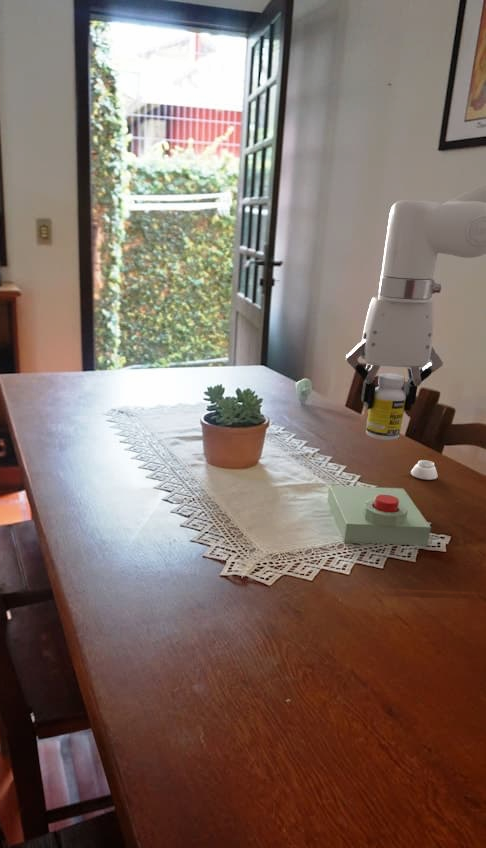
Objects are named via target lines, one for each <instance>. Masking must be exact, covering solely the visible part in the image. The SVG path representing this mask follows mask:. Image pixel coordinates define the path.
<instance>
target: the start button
mask: <svg viewBox="0 0 486 848" xmlns="http://www.w3.org/2000/svg"><path fill="white" fill-rule="evenodd" d="M398 504H399V499H398V498H396V497H394V496H390V495H378V496H376V497H375V503H374V508H375V509H376V510H378V511H382V512H390V513H393V512H397V510H398Z"/></svg>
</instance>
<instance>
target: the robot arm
mask: <svg viewBox="0 0 486 848" xmlns="http://www.w3.org/2000/svg"><path fill="white" fill-rule="evenodd" d="M389 211H390V212H389V217H388V223H387V224H388V225H387V232H386V237H385V238H386V239H385V245H384V252H383V260H382V266H381V273H380V281H379V288H378V295H377V296H372V298H371V301H370V303H369V308H368V310H367V314H366V317H365V321H364V327H363V332H362V336H361V342H359V343H358V344H357V345H356V346H355V347H354V348H353V349H352V350H351V351H350V352H349V353H348V354H346V356H345V359H344V360H345V361H346V362H347V363H348V364H349V365H350V366H351V367H352V368H353V370H355V372H356V373H357V374H358V375H359V377H360V378H361V379H362V380H363V383H362V392H361V403H363V406H364V407H365V408H366V409H367V410H369V409H371V408H372V407H373V400H374V393H375V388H376V384H375V378H376V375H377V374H378V372H379V370H380V368H381V367H391V368H406V371H407V375H408V379H407V381H405V382H404V385H403V391H404V392H405V393H406V401H405V407H404V411H409V412H410V411H411V410H412V405H415V403H416V397H417V392H418V387H419V386H420V385H422V383H423V381H426V380H427V379H428V378H429V377H430V376H431V375H432V374H433V373H435V372H436V371H437V370H439V369H441V368H442V367H443V366H444V362H443V360H442V359H441V357H440V355H439V354H438V353H437V351H436V350H435V349H434V347H433V339H434V325H435V323H434V322H435V311H434V307H435V306H434V301H433V300H431V298H432V296H433V294H440V293H441V290H442V284H441V283H437V282H435V279H434V275H435V270H436V266H437V265H436V264H437V260H438V259H437V258H438V254H442V255H448V256H454V257H459V258H466V259H472V258H479V257H481V256H484V255H486V183H484V184H482V185H480V186H477V187H475V188H473V189H471V190H469V191H466V192H464V193H463V194H460V195H458V196H456V197H453V198H452V199H449V200H447V201H446V202H444V203H440V202H438V201H435V200H434V201H433V200H422V199H421V200H420V199H401V200H398V201H396V202H394V204H393V205H392V206H391V208H390V210H389ZM360 358H361V359H363V360H364V361H365V362H366V366H365V367H364V366H363V365H362V364H361V362H359V359H360Z"/></svg>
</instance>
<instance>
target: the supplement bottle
mask: <svg viewBox="0 0 486 848" xmlns="http://www.w3.org/2000/svg"><path fill="white" fill-rule="evenodd" d="M405 379H406V378H405V376H403V375H400V374H397V373H380V374H378V379H377V385H378V386H375V393H374V400H373V407H372V408H371V409H368V413H367V420H366V426H365V433H366V435H367V436H368V437H370V438H373V439H377V440H384V441H392V440H396V439H398V438H399V437H400V434H401V430H402V425H403V424H402V423H403V417H404V412H405V409H404V407H405V401H406V393H405V392H404V389H402V388H404V385H405Z"/></svg>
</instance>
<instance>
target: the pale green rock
mask: <svg viewBox="0 0 486 848" xmlns="http://www.w3.org/2000/svg"><path fill="white" fill-rule="evenodd" d="M294 386H295V393H296V398H297V400H298V402H299V403H300V404H305V403H307V402H308V400H309V399H310V398H311V395H312V393H313V389H314V387H313V386H314V385H313V382H312V381H311V380H310V379H309V378H302V379H301V380H298V381H295V382H294Z"/></svg>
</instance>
